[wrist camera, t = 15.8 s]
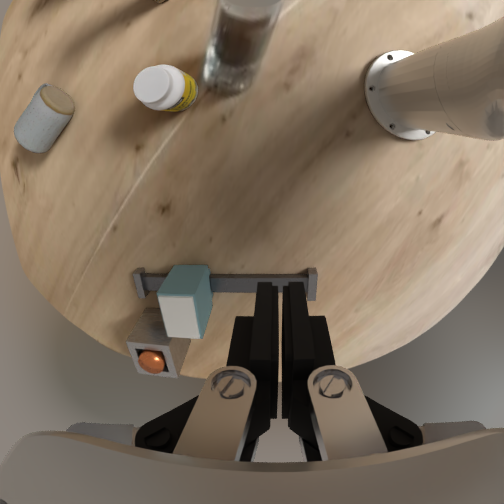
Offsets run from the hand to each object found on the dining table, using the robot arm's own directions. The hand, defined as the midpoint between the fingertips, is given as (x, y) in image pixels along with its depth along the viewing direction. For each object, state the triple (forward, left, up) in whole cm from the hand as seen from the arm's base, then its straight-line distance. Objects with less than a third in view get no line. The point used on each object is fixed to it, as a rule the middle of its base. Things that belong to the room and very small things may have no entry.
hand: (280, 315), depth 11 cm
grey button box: (+19, +25, -29) cm, 42 cm away
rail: (+8, +16, -29) cm, 34 cm away
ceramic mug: (+34, -13, -29) cm, 47 cm away
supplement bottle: (+12, -12, -29) cm, 34 cm away
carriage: (+12, +16, -29) cm, 35 cm away
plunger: (+18, +25, -27) cm, 41 cm away
